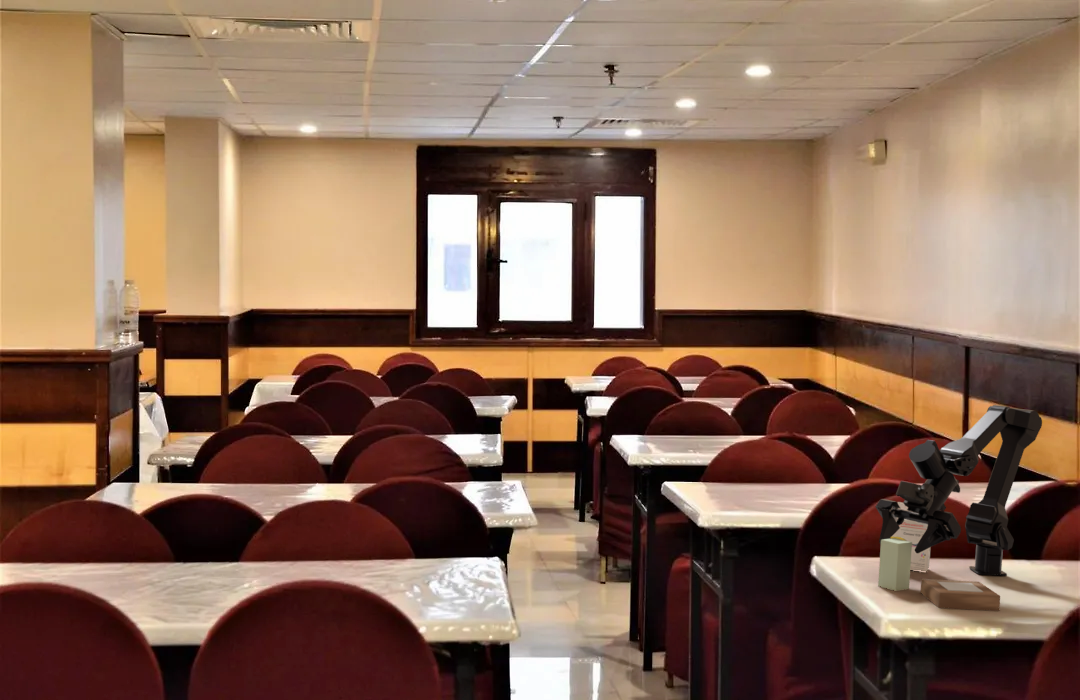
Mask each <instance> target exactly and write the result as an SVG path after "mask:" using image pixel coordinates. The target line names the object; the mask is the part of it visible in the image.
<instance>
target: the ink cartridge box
mask: <svg viewBox="0 0 1080 700" xmlns="http://www.w3.org/2000/svg"><path fill="white" fill-rule="evenodd" d="M896 502H897V503H898V505H899V506H900V508H901V509H906V510H907V509H908V507H907V506H905V505H904V503H903V502H901V501H896ZM899 527H900V529H899V530H898V531H897V532H896V533H895V534H894V535H893V536H892V537H891V538H897V539H901V540H905V541H909V542H912V551H911V567H910V570H921V571H927V570H928V571H929V569H930V562H931V560H930V559H931V547H930V548H928V549H926V550H924V551H922V552H920V553H916V552H915V548H916V546H917V544H918V542H919V541H920V539H921V538H922V536H923V534H924V533H925V531H926V530H927V527H928V525H927V524H922V523H918V522H916V521H911V520H907V519H904V522H903V523H902V524H901V525H899ZM891 538H890V539H891ZM928 568H929V569H928ZM928 571H927V572H928Z"/></svg>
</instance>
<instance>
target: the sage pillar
mask: <svg viewBox="0 0 1080 700" xmlns="http://www.w3.org/2000/svg"><path fill="white" fill-rule="evenodd" d="M879 548H880V552H879V567H878V582H877V586H878V587H879V586H881V587H880V588H883V589H886V588H887V589H888V590H891V591H893V590H894V591H895V592H897V591H904V589H905V590H909V589H910V580H911V571H910V567H911V551H912V542H909V541H905V540H901V539H897V538H890V539H883V540H881V544H880V547H879Z"/></svg>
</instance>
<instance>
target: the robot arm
mask: <svg viewBox="0 0 1080 700" xmlns="http://www.w3.org/2000/svg"><path fill="white" fill-rule="evenodd" d="M1042 426H1043V419H1042V417H1041V416H1040V414H1039V413H1038V411H1037V410H1031V409H1023V408H1015V407H1010V406H1005V405H1000V404H999V405H996V404H993V405H990V406H988V408H987V410H986V413H984V415H983V416H982V417H981V418H980V419H979V420H978V421H976V423H975V424H974V425H973V426H972V427H970V429H969V430H968V431H967V432H966V433H965V434H964V435H963V437H961V438H960V439H957V440H953V441H950V442H948V443H947V444H945V445H944V446H943V447H941V448H940V447H939V446H938V443H937V442H936V440H933V439H932V440H931V439H926V441H925V442H924V443H920V444H918V445H916V446H915V447H913V448H911V450H910V451H909V453H908V457H909V460H910V462H911V463H912V464H913V466H914V468H915V469H916V471H917V473H918V475H919V476H920V478H922V479H923V480H925V482H924V483H922V484H917V483H914V482H908V481H904V480H901V481H900V482H899V485H898V488H897V490H896V492H895V496H897V497H900V498H902V500H903V502H902V503H904V505H905V506H907V507H908V509H907V510H906V509H901V508H900V506H899V505H898V503H897V502H898V501H895V500H891V499H890V500H889V499H886V498H881V499H880V498H879V501H878V502H877V504H876V505H875V509H876V510H877V512H878V514H879V515H880V517H881V519H882V524H881V530H880V535H879V541H878V543H879V544H880V545H881V540H883V539H891V537H892V536H893V535H894V534H895V533H896V532H897V531H898V530H899V529H900V527H899V525H901V524H902V523H903V522H904V519H907V520H911V521H916V522H918V523H922V524H927V525H928V527H927V530H926V531H925V533H924V534H923V536H922V538H921V539H920V541H919V542H918V544H917V546H916V548H915V552H916V553H920V552H922V551H924V550H926V549H928V548H930V547H933V546H936V545H938V544H941V543H943V542H945V541H950V540H951V539H953V540H957V539H958V538H959V536H960V534H961V533H962V527H961V525H960V524H959V522H958V521H957V518H956V517H955V515H954V513H953V512H949V511H945V510H946V509H947V506H946V505H945V503H946V501H947V500H948V498H949V496H951V493H958V494H960V493H961V487H960V484H959V483H960V480H959V479H956V477H955V476H954V475H957V476H963V477H968V476H969V475H971V474H972V472H974V469H975V468H976V467H977V465H978V464H979V455H980V454H981V452H982V451H983V450H984V449H985V448H986V447H987V446H988V445H989V444H990V443H991V442H992V440H993V439H994V438H996V437H997V435H998V434H1000V436H1001V445H1000V448H999V451H998V454H997V457H996V460H995V462H994V466H993V469H992V471H991V474H990V477H989V479H988V484H987V487H986V488H985V493H984V495H983V497H982V499H980V501H979V502H972V503H971V504H970V506H969V510H968V513H967V515H966V517H965V519H966V520H965V524H964V528H965V533H966V534H965V535H966V539H967V540H966V541H967V543H968V544H974V545H976V546H975V557H974V558H975V559H974V565H973V566H969V569H970V570H971V571H973V572H974V573H975V574H978V575H981V576H983V575H987V576H1004V577H1007V576H1008V573H1007V572H1005V571H1003V570H1002V567H1003V556H1004V555H1003V551H1010V549H1012V548H1013V545H1014V541H1015V540H1014V536H1013V535H1012V534H1011V532H1010V531H1009V528H1008V523H1009V518H1008V513H1007V510H1006V504H1007V502H1008V498H1009V497H1010V492H1011V490H1012V486H1013V483H1014V481H1015V478H1016V476H1017V472H1018V469H1019V467H1020V463H1021V460H1022V458H1023V454H1024V451H1025V450H1026V448H1027V447H1029V446H1030V445H1031V444H1033V443H1034V442H1035V441H1036V439H1037V437H1038V434H1039V432H1040V431H1041V430H1042ZM930 549H931V548H930Z"/></svg>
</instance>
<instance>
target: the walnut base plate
mask: <svg viewBox="0 0 1080 700" xmlns="http://www.w3.org/2000/svg"><path fill="white" fill-rule="evenodd" d="M921 593H922V594H923V595H922V594H921ZM920 594H921V595H922V596H923V597H925V598H926V597H927V598H928V600H929V601H930V602H931V603H933V604H934V605H935V606H936V607H937V608H938V609H952V610H953V609H954V610H972V611H973V610H975V611H994V612H999V611H1000V610H1001V609H1000V606H1001V603H1000V602H1001V595H1000V594H998V593H997V592H995V591H993V589H991V588H990V587H988V586H986V585H984V584H983V583H981V582H980V581H974V580H973V581H970V580H969V581H967V580H952V579H932V578H931V579H930V578H921V582H920ZM927 598H926V599H927Z"/></svg>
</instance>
